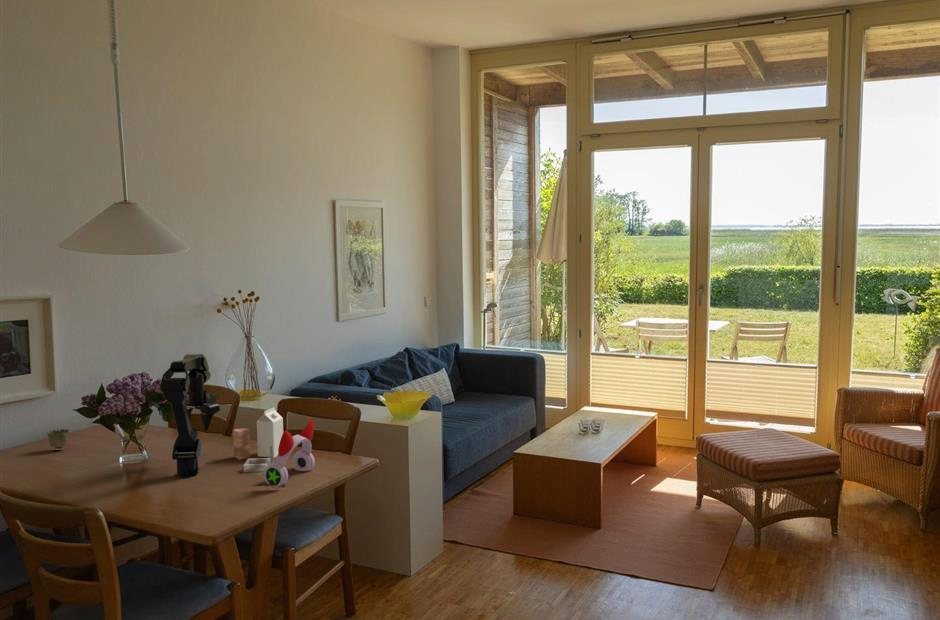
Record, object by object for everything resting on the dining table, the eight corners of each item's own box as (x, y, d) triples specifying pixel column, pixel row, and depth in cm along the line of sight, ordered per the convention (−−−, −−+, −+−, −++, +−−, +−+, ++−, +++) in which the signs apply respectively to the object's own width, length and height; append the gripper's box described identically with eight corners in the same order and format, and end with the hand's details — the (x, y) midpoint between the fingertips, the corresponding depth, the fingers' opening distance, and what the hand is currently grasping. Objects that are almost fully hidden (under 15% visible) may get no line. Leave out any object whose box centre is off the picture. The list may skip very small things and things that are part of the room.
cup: (55, 448, 311) (54, 428, 310) (73, 448, 311) (72, 428, 310) (44, 453, 304) (43, 433, 303) (62, 453, 303) (61, 433, 303)
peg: (239, 463, 288) (238, 431, 286) (234, 460, 291) (233, 429, 290) (250, 461, 290) (249, 429, 289) (245, 458, 294) (244, 427, 293)
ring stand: (257, 479, 268) (256, 452, 267) (232, 474, 274) (231, 448, 273) (282, 470, 278) (281, 444, 277) (257, 465, 284) (256, 440, 283)
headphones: (296, 471, 278) (294, 416, 276) (319, 473, 274) (318, 418, 272) (263, 487, 259) (261, 429, 257) (287, 490, 256) (286, 431, 254)
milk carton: (257, 460, 292) (256, 410, 290) (268, 454, 299) (266, 406, 297) (274, 461, 290) (272, 411, 288) (284, 456, 296) (282, 407, 295)
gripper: (230, 386, 288) (232, 427, 289) (195, 382, 297) (197, 421, 298) (206, 391, 278) (208, 433, 280) (171, 387, 287) (173, 428, 289)
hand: (197, 429), depth 287 cm, fingers open, 9 cm apart
